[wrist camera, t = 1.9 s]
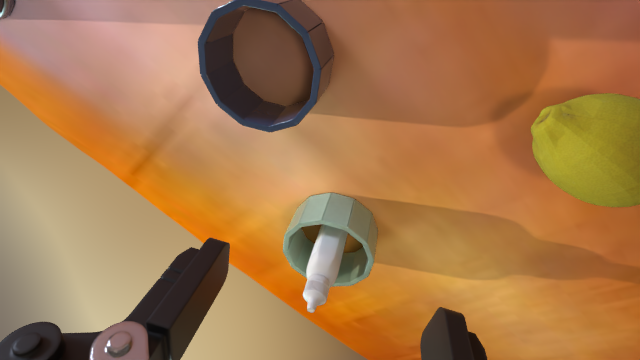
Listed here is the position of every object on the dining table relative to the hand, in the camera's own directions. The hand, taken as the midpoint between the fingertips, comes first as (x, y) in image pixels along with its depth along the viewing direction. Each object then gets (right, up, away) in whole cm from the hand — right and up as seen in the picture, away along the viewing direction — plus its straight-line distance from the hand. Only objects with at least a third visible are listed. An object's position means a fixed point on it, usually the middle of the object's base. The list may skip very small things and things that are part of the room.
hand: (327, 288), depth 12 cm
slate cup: (-4, +16, +18) cm, 24 cm away
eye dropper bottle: (+2, -2, +28) cm, 28 cm away
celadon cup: (+2, -2, +28) cm, 28 cm away
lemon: (+22, +9, +15) cm, 28 cm away
